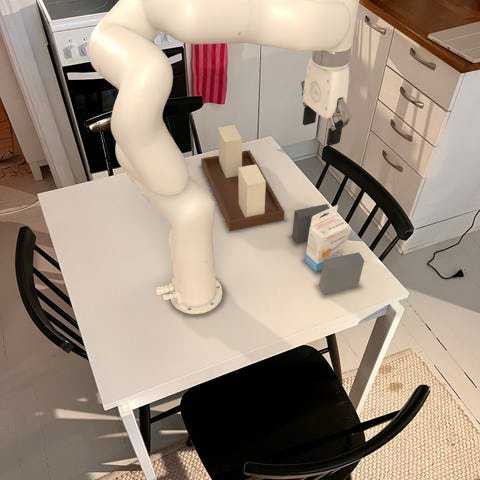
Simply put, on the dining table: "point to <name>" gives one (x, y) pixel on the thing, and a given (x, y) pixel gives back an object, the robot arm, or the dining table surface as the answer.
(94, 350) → the dining table surface
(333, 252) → the ink box
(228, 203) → the book tray
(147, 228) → the dining table surface
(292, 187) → the dining table surface
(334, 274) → the gray bookends
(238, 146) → the white books
